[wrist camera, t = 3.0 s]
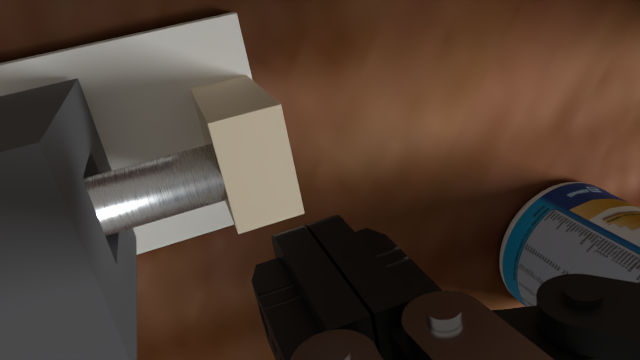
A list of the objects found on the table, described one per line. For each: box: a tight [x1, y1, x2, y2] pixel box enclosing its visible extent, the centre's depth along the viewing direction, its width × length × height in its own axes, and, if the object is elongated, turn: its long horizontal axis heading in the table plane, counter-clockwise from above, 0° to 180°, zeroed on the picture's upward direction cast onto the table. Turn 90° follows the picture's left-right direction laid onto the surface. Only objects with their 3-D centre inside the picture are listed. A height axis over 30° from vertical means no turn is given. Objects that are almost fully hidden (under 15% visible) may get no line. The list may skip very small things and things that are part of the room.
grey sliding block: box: [0, 78, 137, 360], centre depth 17 cm, size 3×7×9 cm, turn 11°
